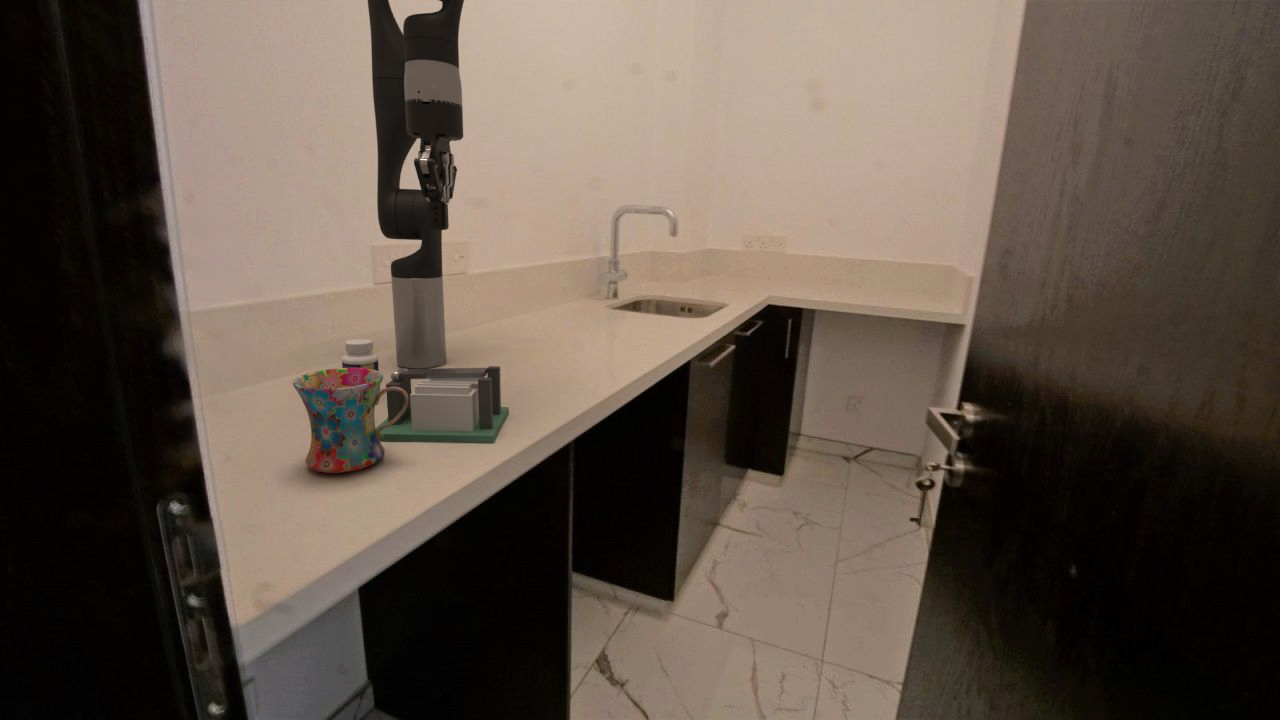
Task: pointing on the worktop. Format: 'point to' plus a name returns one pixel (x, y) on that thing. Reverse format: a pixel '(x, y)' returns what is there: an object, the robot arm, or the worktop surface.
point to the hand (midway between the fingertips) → (439, 229)
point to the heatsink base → (446, 410)
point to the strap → (439, 373)
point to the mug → (343, 417)
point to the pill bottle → (360, 355)
